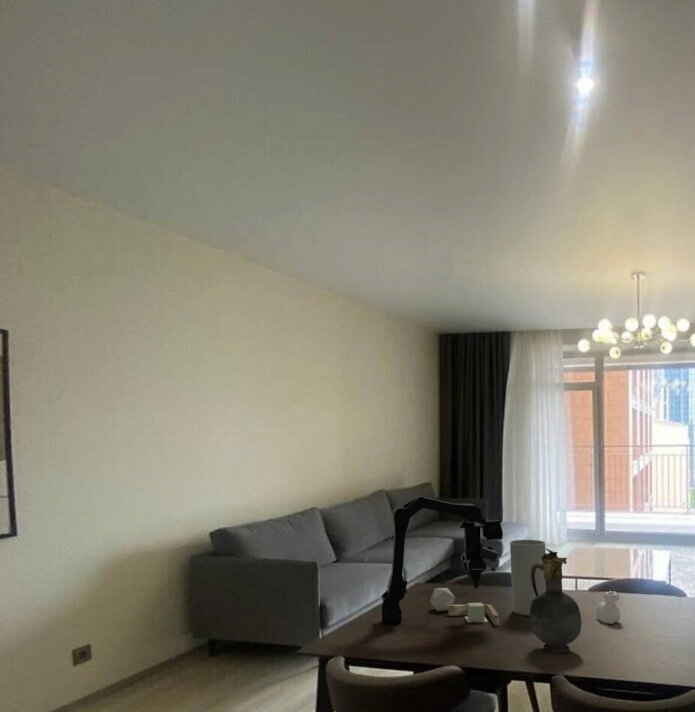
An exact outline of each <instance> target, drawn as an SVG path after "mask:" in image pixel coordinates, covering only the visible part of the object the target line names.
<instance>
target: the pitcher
mask: <svg viewBox="0 0 695 712" xmlns="http://www.w3.org/2000/svg"><path fill="white" fill-rule="evenodd" d="M545 551H547V552H548V553H547V552H546V553H542V554H544V556H542V558H541V561H543V564H541V563H535V564H534V565H533V566H532V568H531V571H530V574H531V577H530V579H531V583H532V585H533V589H534V592H535V595H536V598H535V599H534V600H533V601H532V603H531V607H530V616H529V620H530V625H531V629H532V631H533V633H534V635H535V636H536V637H537V639H538V640H539V641H541V642H543V649H544V650H546V651H547V652H550V653H555V654H556V653H557V654H559V653H560V654H561V653H562V654H563V653H566V652H569V651H570V647H569V644H570V643H573V642H574V641H575V640H577V638H578V637H579V636H580V633H581V629H582V616H581V615H582V614H581V611H580V608H579V607H580V606H579V605H578V603H577V601H576V600H575V599H574V598H572V597H571V595H569V594H566V593H565V592H563V578H564V577H563V567H562V566H563V564H564V565H567V563H568V561H567V557H559V556H558V554H559V552H558V551H553V550H550V549H549V548H546V547H545ZM537 568H539V569H541V570H542V571H544V579H545V582H546V592H544V593H542V594H540V595H538V592H537V589H536V581H535V570H536V569H537Z"/></svg>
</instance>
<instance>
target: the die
mask: <svg viewBox="0 0 695 712" xmlns="http://www.w3.org/2000/svg"><path fill="white" fill-rule="evenodd" d="M455 599H456V597H455V595H454V594H453V593H452V592H451V591H450V589H449V587H436V588H434V589H433V592H432V595H431V598H430V601H429V602H430V603H431V605H432V606H433V607H434V609H435V610H436V611H437V612H444V611H445V612H447V611H449V610H448V605H454V602H455Z"/></svg>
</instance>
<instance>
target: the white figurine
mask: <svg viewBox="0 0 695 712" xmlns="http://www.w3.org/2000/svg"><path fill="white" fill-rule="evenodd" d="M603 598H604V602H603V601H602V602H599V603H598V605H597V606H596V610H595V613H596V617H597V619H598V620H599V622H602V623H604V624H605V623H607V624H609V625H613V624H615V623H617V622H619V621H620V617H621V611H620V608H619V607H618V605H617V604H616V603H617V602H618V601H619V599H620V594H619V593H618V592H616V590H615V591H612V590H609V591H605V594H603Z"/></svg>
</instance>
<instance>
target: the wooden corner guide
mask: <svg viewBox="0 0 695 712" xmlns="http://www.w3.org/2000/svg"><path fill="white" fill-rule="evenodd" d="M482 604H483V603H482ZM483 605H484V616H488V618H489V620H490V621H491V622H492V624H493V626H495V627H496V626H498V627H499V626H500V615H499V613H498V612H497V611H496V610H495V608H494V607H493V605H492V604H487V603H485V604H483ZM447 611H448V616H464V618H465V620H466V622H467V623H488V622H489V620H488V619H487V618H486V617H485V621H470V620H469V618H468V604H453V605H448V610H447Z"/></svg>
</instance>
